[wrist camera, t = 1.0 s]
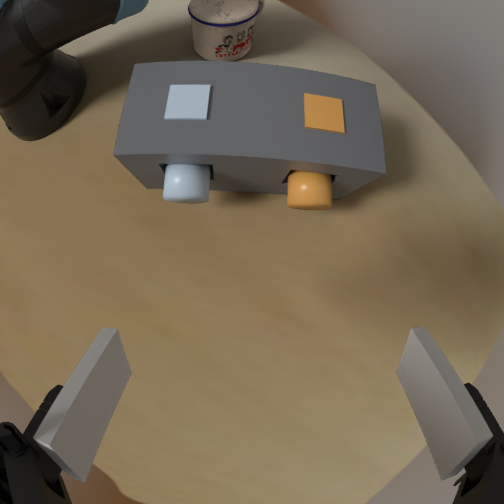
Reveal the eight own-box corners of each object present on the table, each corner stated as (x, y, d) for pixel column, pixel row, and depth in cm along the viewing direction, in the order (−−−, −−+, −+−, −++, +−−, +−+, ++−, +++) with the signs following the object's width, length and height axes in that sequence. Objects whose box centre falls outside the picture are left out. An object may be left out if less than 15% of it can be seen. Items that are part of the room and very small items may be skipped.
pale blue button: (170, 170, 30) (162, 156, 25) (211, 171, 30) (210, 157, 26) (167, 202, 29) (158, 193, 25) (209, 204, 30) (207, 194, 25)
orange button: (284, 176, 31) (293, 163, 26) (323, 180, 31) (337, 168, 27) (283, 208, 31) (292, 199, 26) (323, 211, 31) (338, 203, 27)
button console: (157, 116, 34) (134, 62, 22) (336, 129, 37) (376, 83, 24) (146, 188, 34) (112, 153, 22) (339, 199, 36) (387, 172, 24)
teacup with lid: (219, 74, 35) (219, 17, 24) (180, 44, 35) (171, -10, 24) (279, 39, 37) (293, -13, 25) (239, 12, 36) (244, -39, 25)
